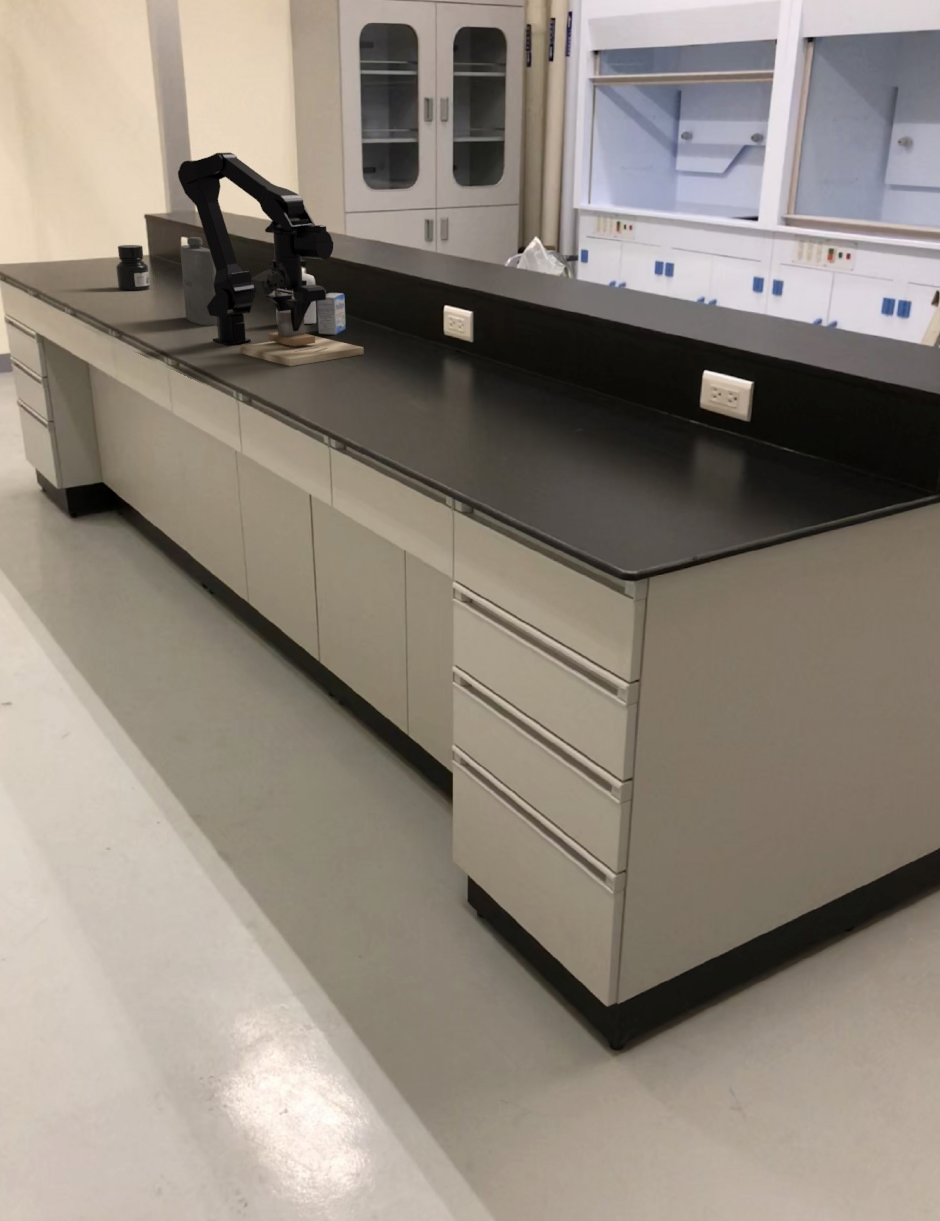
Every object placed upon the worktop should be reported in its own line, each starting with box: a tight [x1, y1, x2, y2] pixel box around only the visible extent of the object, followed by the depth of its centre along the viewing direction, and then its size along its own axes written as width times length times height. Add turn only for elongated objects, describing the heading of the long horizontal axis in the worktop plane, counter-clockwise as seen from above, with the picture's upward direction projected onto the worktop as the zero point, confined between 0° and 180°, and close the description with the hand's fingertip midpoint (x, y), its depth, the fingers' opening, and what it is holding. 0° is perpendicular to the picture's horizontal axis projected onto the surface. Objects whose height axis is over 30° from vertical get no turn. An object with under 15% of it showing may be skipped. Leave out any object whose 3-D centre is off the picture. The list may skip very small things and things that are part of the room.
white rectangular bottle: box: [275, 272, 317, 325], centre depth 275 cm, size 10×4×12 cm, turn 123°
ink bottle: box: [115, 244, 151, 291], centre depth 324 cm, size 10×9×12 cm
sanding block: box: [267, 310, 315, 346], centre depth 244 cm, size 9×6×6 cm, turn 45°
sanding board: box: [239, 335, 365, 367], centre depth 243 cm, size 18×20×2 cm
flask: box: [179, 236, 217, 327], centre depth 275 cm, size 15×6×20 cm, turn 32°
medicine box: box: [316, 292, 346, 336], centre depth 267 cm, size 8×4×9 cm, turn 168°
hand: (291, 329), depth 244 cm, fingers closed on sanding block, 3 cm apart
